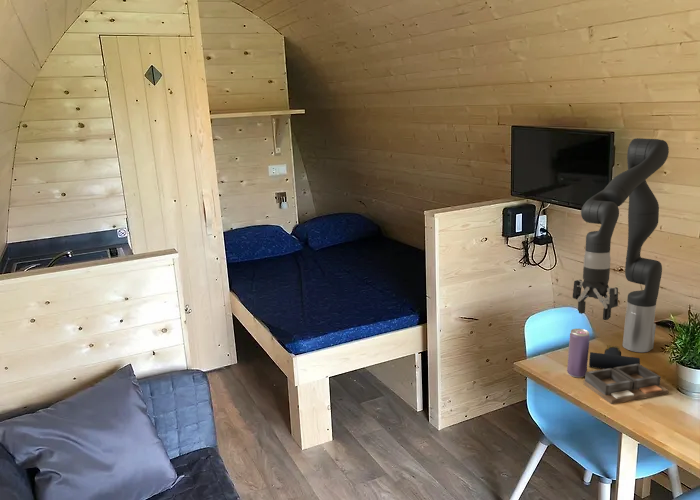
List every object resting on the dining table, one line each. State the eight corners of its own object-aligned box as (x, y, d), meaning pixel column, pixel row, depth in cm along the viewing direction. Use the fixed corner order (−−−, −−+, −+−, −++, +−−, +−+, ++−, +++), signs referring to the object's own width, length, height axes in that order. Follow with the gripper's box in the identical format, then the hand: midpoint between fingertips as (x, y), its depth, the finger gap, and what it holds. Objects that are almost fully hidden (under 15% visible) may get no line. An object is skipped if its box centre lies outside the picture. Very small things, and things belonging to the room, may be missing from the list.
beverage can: (584, 379, 189) (588, 336, 185) (565, 375, 192) (568, 333, 188) (587, 372, 194) (591, 330, 190) (569, 368, 197) (572, 327, 193)
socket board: (637, 374, 191) (638, 363, 190) (667, 393, 179) (669, 381, 178) (583, 384, 186) (584, 372, 185) (611, 404, 174) (612, 391, 173)
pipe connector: (589, 341, 205) (637, 346, 200) (588, 355, 207) (635, 360, 202) (590, 355, 195) (640, 361, 190) (589, 370, 196) (638, 376, 191)
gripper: (625, 267, 176) (621, 319, 179) (584, 260, 188) (581, 309, 191) (610, 271, 172) (606, 324, 175) (569, 263, 184) (566, 313, 187)
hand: (593, 316), depth 183 cm, fingers open, 8 cm apart
